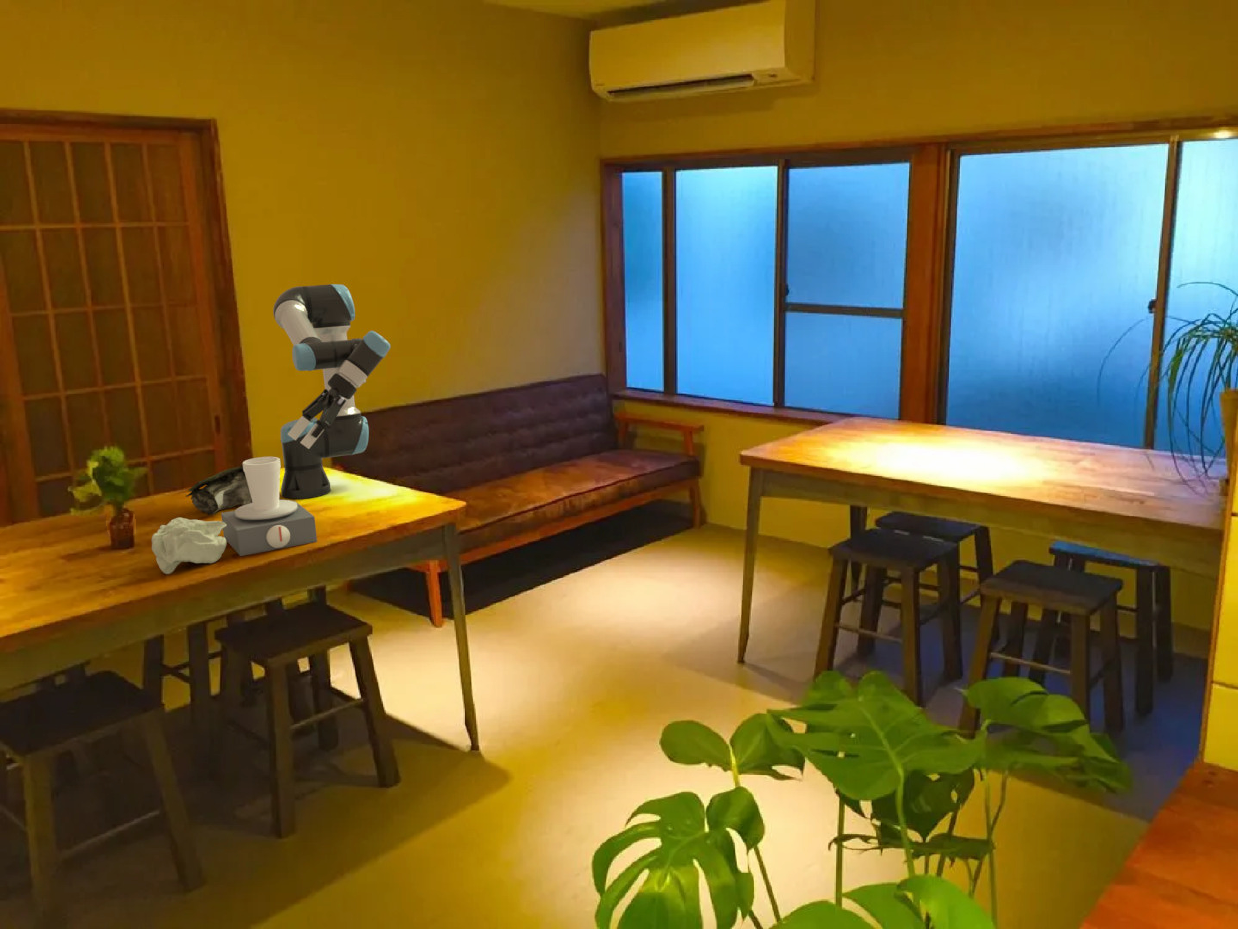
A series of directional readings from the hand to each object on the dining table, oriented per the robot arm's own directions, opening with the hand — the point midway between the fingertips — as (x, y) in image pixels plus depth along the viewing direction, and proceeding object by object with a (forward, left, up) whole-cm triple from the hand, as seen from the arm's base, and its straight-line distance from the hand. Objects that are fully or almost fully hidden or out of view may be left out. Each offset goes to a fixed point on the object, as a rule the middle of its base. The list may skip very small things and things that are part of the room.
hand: (297, 441), depth 279 cm
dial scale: (0, -10, -26) cm, 28 cm away
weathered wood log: (-43, -13, -26) cm, 52 cm away
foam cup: (0, -10, -17) cm, 20 cm away
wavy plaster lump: (+9, -32, -26) cm, 42 cm away
